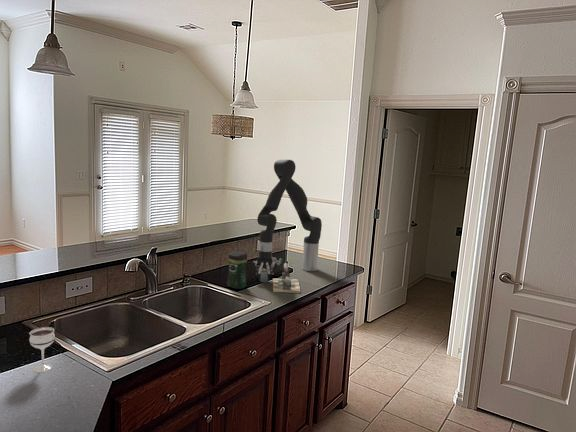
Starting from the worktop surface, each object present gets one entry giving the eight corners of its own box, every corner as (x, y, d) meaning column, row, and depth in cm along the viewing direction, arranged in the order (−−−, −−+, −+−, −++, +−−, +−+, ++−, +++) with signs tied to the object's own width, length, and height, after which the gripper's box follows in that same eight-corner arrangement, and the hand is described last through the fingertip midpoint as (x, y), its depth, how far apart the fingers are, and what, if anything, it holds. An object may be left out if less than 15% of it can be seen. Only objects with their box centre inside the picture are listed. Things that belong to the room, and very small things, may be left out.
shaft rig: (272, 277, 237) (273, 262, 236) (297, 278, 238) (298, 263, 236) (273, 294, 209) (274, 276, 207) (301, 295, 209) (302, 278, 208)
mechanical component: (280, 276, 241) (281, 259, 239) (263, 274, 243) (264, 257, 241) (281, 274, 244) (282, 258, 242) (264, 272, 246) (265, 256, 244)
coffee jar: (248, 286, 218) (250, 252, 215) (238, 290, 212) (240, 254, 209) (234, 282, 223) (236, 249, 221) (224, 286, 217) (225, 251, 214)
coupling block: (260, 279, 231) (260, 268, 230) (267, 280, 231) (268, 268, 230) (260, 282, 227) (260, 270, 226) (267, 282, 227) (268, 270, 226)
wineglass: (43, 361, 133) (42, 325, 131) (60, 365, 131) (60, 329, 129) (24, 371, 126) (23, 334, 125) (42, 375, 125) (41, 338, 123)
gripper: (278, 248, 231) (276, 278, 233) (252, 247, 230) (251, 277, 232) (278, 251, 223) (277, 282, 226) (252, 250, 222) (250, 281, 225)
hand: (263, 279), depth 229 cm, fingers closed on coupling block, 4 cm apart
